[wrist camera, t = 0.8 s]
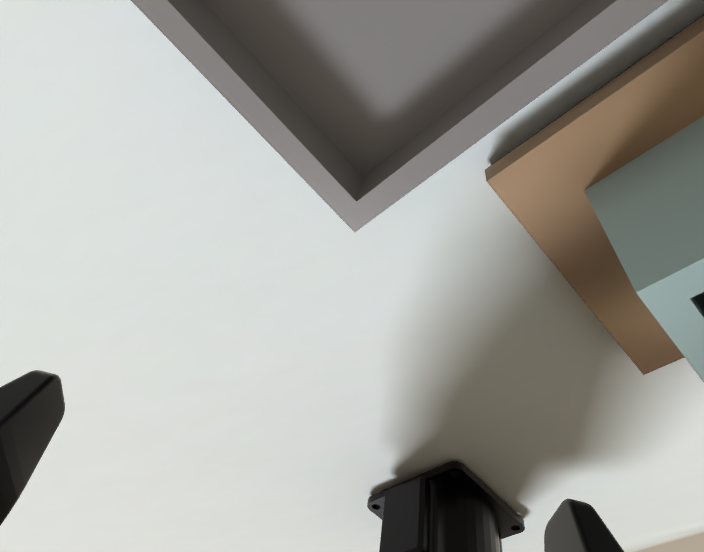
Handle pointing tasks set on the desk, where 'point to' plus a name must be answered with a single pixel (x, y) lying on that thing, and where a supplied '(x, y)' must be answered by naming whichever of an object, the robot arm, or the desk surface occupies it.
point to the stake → (592, 166)
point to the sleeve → (662, 233)
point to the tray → (384, 77)
